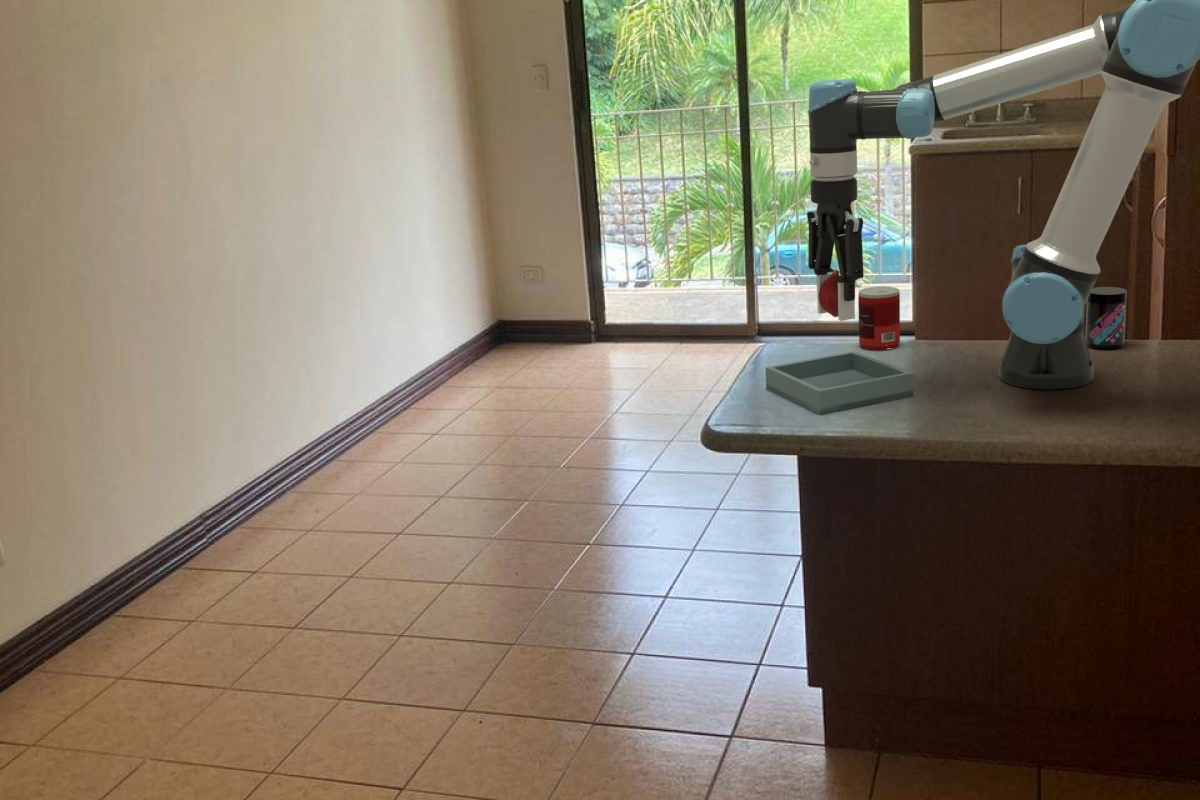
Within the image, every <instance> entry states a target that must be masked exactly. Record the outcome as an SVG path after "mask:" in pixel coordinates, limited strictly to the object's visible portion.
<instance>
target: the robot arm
mask: <svg viewBox="0 0 1200 800" xmlns="http://www.w3.org/2000/svg"><path fill="white" fill-rule="evenodd" d="M1198 61H1200V0H1134V1H1133V2H1130V4H1129V3H1128V4H1126V5H1124V6H1123V7H1122V6H1121V7H1120V8H1118V9H1116V10H1115V9H1114V10H1112V11H1110V12H1107V13H1103V14H1100V15H1099V16H1098V17H1097V19H1096V20H1095V21H1094V23H1093V24H1090V25H1087V26H1084V27H1081V28H1078V29H1075V30H1072V31H1069V32H1065V33H1063V34H1059V35H1056V36H1053V37H1049V38H1047V39H1044V40H1041V41H1038V42H1035V43H1032V44H1031V43H1030V44H1029V45H1025V46H1022V47H1019V48H1015V49H1012V50H1009V51H1005V52H1002V53H999V54H997V55H994V56H991V57H988V58H985V59H981V60H978V61H975V62H972V63H969V64H965V65H962V66H959V67H956V68H953V69H950V70H947V71H943V72H940V73H938V74H935V75H932V76H928V77H925V78H922V79H919V80H915V81H909V82H906V83H903V84H900V85H899V86H896V87H895V88H893V89H884V90H872V91H870V90H869V91H865V90H864V91H863V90H858V88H857V83H856V80H854V79H851V78H850V79H849V78H846V79H845V78H844V79H829V80H827V79H826V80H818V81H815V82H813V83H812V84H811V85H810V86H809V91H808V92H809V94H808V110H807V114H808V129H809V131H808V133H809V152H810V153H809V156H810V157H809V159H810V160H809V165H810V171H809V172H810V176H811V177H812V178H813V179H811V181H810V201H811V203H813V204H816V205H817V207H816V210H811V211H807V213H806V219H807V224H808V268H809V270H812V271H813V272H814V274H815V275H816V293H817V296H816V298H817V314H820V315H821V314H827V313H828V312H826V311H825V310H824V309H823V308H822V307H821V305H820V303H819V298H818V296H819V290H820V287H821V285H822V284H823V282H824V281H825V280H826V279H827V278H829V277H830V276H831V275H832V273H833V271H834V270H835V269H833V268H832V267H831V266H832V260H833V253H834V249H835V253H836V258H837V265H838V271H839V275H840V277H841V279H838V280H837V281H838V317H837V318H838V321H840V322H842V321H848V320H854V319H856V310H855V309H856V307H855V306H856V304H855V303H856V300H855V299H856V281H857V280H859V279H863V278H864V276H865V275H864V258H863V257H864V256H863V254H864V253H863V252H864V251H863V235H862V234H863V227H864V219H863V217H857V218H856V217H855V216H853V210H852V205H851V204H852V203H853V202H855V201H856V200H857V199H858V179H857V178H856V177H855V175H857V174H858V149H857V148H858V147H857V145H858V144H857V140H870V139H873V140H875V139H878V140H881V139H884V140H885V139H907V140H911V139H915V138H926V137H928V136H930V135H931V134H932V132H933V130H934V126H935V124H937V123H940V122H942V121H945V120H949V119H952V118H955V117H959V116H962V115H965V114H969V113H972V112H976V111H980V110H983V109H986V108H989V107H992V106H996V105H999V104H1003V103H1005V102H1009V101H1013V100H1016V99H1020V98H1023V97H1027V96H1029V95H1033V94H1036V93H1037V94H1038V93H1040V92H1043V91H1044V92H1045V91H1047V90H1050V89H1053V88H1056V87H1061V86H1063V85H1067V84H1071V83H1074V82H1077V81H1080V80H1084V79H1086V78H1090V77H1091V78H1092V77H1093V76H1097V75H1100V74H1101V76H1102V78H1103V80H1104V83H1105V88H1104V90H1103V93H1102V96H1101V98H1100V100H1099V102H1098V104H1097V107H1096V109H1095V111H1094V114H1093V116H1092V118H1091V120H1090V123H1089V126H1088V128H1087V130H1086V132H1085V135H1084V137H1083V140H1082V141H1081V143H1080V145H1079V148H1078V150H1077V153H1076V155H1075V158H1074V159H1073V162H1072V164H1071V167H1070V169H1069V172H1068V174H1067V175H1066V177H1065V179H1064V180H1065V181H1064V182H1063V185H1062V186H1061V187H1062V188H1061V189H1060V192H1059V194H1058V197H1057V199H1056V202H1055V204H1054V206H1053V207H1052V210H1051V212H1050V215H1049V217H1048V220H1047V223H1046V225H1045V227H1044V229H1043V232H1042V234H1041V236H1040V237H1038V238H1037V239H1034V240H1032V241H1030V242H1028V243H1027V244H1021V245H1016V246H1015V248H1013V251H1012V258H1011V259H1010V263H1011V266H1012V267H1011V280H1010V282H1009V283H1008V287H1007V288H1006V289H1005V292H1004V293H1003V296H1002V301H1001V303H1002V304H1001V311H1002V315H1003V319H1004V321H1005V323H1006V325H1007V326H1008V328H1009V330H1010V335H1009V338H1008V339H1007V342H1006V343H1007V344H1006V346H1005V350H1004V353H1003V357H1002V358H1001V360H1000V362H999V364H998V368H999V370H998V371H999V372H998V377H999V380H1000V381H1002V382H1003V383H1006V384H1008V385H1012V386H1015V387H1019V388H1020V387H1021V388H1025V389H1033V390H1034V389H1035V390H1063V389H1064V390H1066V389H1072V388H1078V387H1079V388H1080V387H1082V386H1085V385H1088V384H1090V383H1091V382H1093V379H1094V363H1093V361H1092V360H1091V356H1090V355H1091V354H1090V350H1089V347H1088V346H1087V344H1086V340H1085V338H1086V336H1085V333H1084V332H1085V311H1086V310H1085V309H1086V305H1087V299H1088V297H1089V295H1090V293H1091V290H1092V288H1094V286H1095V284H1096V282H1097V279H1098V276H1099V275H1100V273H1101V267H1100V265H1099V262H1098V260H1097V255H1098V252H1099V250H1100V249H1101V248H1100V247H1101V246H1102V244H1103V241H1104V239H1105V238H1106V236H1107V235H1106V234H1107V233H1108V231H1109V229H1110V226H1111V225H1112V222H1113V219H1114V217H1115V215H1116V213H1117V211H1118V209H1119V206H1120V204H1121V202H1122V199H1123V197H1124V195H1125V193H1126V191H1127V189H1128V187H1129V186H1130V185H1129V184H1130V182H1131V180H1132V178H1133V176H1134V173H1135V172H1136V168H1137V166H1138V165H1139V162H1140V160H1141V158H1142V156H1143V154H1144V151H1145V149H1146V148H1147V145H1148V143H1149V140H1150V139H1151V136H1152V134H1153V132H1154V130H1155V127H1156V125H1157V123H1158V121H1159V119H1160V116H1161V114H1162V113H1163V110H1164V108H1165V106H1166V105H1167V104H1168V103H1170V102H1173V101H1175V100H1176V99H1180V98H1181V97H1182V95H1183V93H1184V91H1185V88H1186V87H1187V84H1188V83H1189V79H1190V77H1191V76H1192V73H1193V71H1194V69H1195V68H1196V67H1195V66H1196V64H1197V62H1198ZM834 247H835V248H834ZM828 314H829V313H828Z"/></svg>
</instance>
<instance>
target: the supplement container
mask: <svg viewBox="0 0 1200 800" xmlns="http://www.w3.org/2000/svg"><path fill="white" fill-rule="evenodd" d="M1127 294H1128V289H1126V288H1122V287H1117V286H1116V287H1115V286H1098V287H1093V288H1092V290H1091V293H1090V295H1089V297H1088V299H1087V301H1086V315H1085V317H1086V320H1085V340H1086V344H1087V347H1088V348H1089V349H1092V350H1093V349H1094V350H1102V351H1111V350H1118V349H1121V348H1123V346H1124V344H1125V335H1126V334H1125V332H1126V314H1127V313H1126V312H1127V296H1128V295H1127Z"/></svg>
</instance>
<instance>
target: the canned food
mask: <svg viewBox="0 0 1200 800" xmlns="http://www.w3.org/2000/svg"><path fill="white" fill-rule="evenodd" d="M857 297H858V299H857V300H858V301H857V304H858V305H857V306H858V342H859V343H858V344H859V346H860V348H861V349H863V350H867V351H872V352H873V351H876V352H877V351H887V350H886V349H887V348H894V349H896V348H897V347H899V345H900V342H901V329H900V328H901V322H900V321H901V307H900V306H901V299H900V297H901V295H900V289H899V288H898V287H894V286H885V285H884V286H880V285H879V286H869V287H865V288H862V289H859V290H858V295H857ZM886 345H887V346H886ZM895 347H896V348H895Z"/></svg>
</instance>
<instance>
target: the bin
mask: <svg viewBox="0 0 1200 800" xmlns="http://www.w3.org/2000/svg"><path fill="white" fill-rule="evenodd" d="M765 389H766V390H767V389H768V390H767V391H769V390H770V392H771V391H772V393H773V392H774V393H773V394H775V393H776V395H778V396H780V397H782V398H784V399H786V400H787V401H790V402H792V403H794V404H796V405H798V406H801V407H803V408H805V409H807V410H808V411H811V412H813V413H815V414H817V415H820V416H821V415H826V414H831V413H835V412H836V413H837V412H841V411H846V410H853V409H855V408H860V407H866V406H871V405H876V404H880V403H886V402H891V401H895V400H901V399H906V398H909V397H910V398H911V397H914V373H913V372H911V371H908V370H905V369H902V368H901V367H898V366H896V365H892V364H889V363H887V362H885V361H882V360H879V359H876V358H874V357H871V356H868V355H866V354H863V353H861V352H858V351H856V350H852V351H845V352H841V353H836V354H830V355H825V356H819V357H814V358H809V359H803V360H798V361H792V362H787V363H781V364H776V365H771V366H766V367H765Z"/></svg>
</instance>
